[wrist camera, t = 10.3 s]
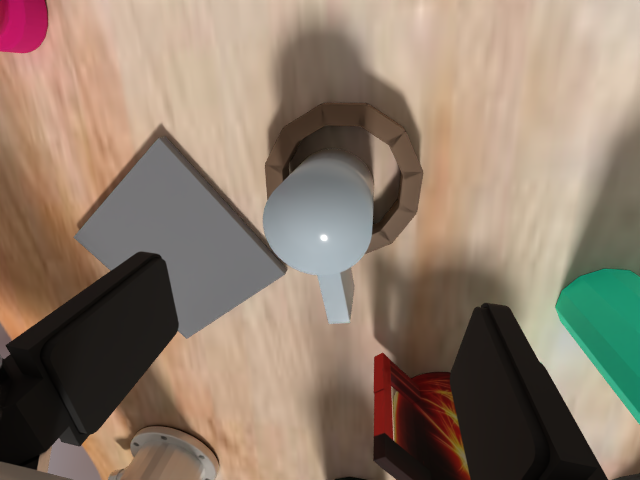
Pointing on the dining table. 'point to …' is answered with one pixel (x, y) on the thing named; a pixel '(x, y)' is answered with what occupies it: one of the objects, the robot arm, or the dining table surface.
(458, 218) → the dining table surface
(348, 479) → the wine bottle
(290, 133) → the stand
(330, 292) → the jug
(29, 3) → the pepper mill
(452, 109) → the dining table surface
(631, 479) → the tankard
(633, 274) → the candle
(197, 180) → the tile
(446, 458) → the mug
